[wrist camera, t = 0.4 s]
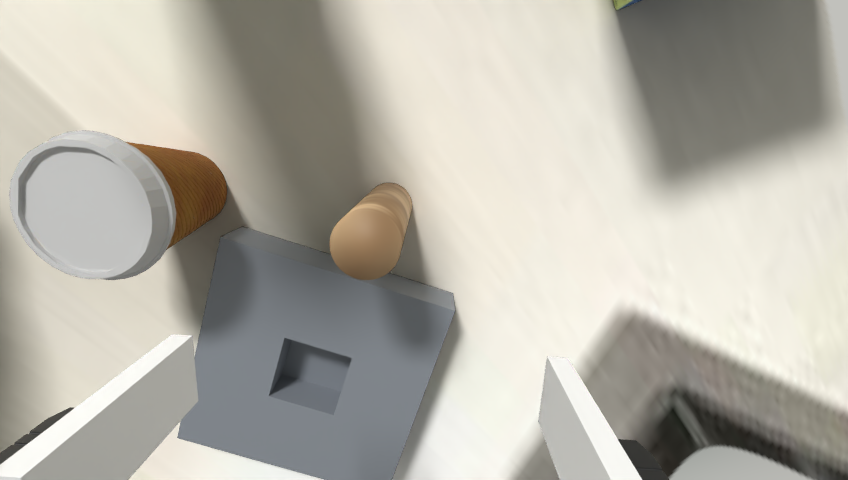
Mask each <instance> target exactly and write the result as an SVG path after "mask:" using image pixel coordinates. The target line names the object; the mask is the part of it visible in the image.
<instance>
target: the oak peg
mask: <svg viewBox="0 0 848 480" xmlns="http://www.w3.org/2000/svg"><path fill="white" fill-rule="evenodd" d="M411 210H412V201H411V197H410V195H409V194H408V192H407V191H406V190H405V189H404V188H403V187H402V186H400V185H398V184H395V183H383V184H380V185H378V186H376V187H375V188H374V189H373V190H372V191H371V192H370V193H368V194H367V195H366V196H365V197H364V198H363V199H362V200H361V201H360V202H359V203H358V204H357V205H356V206H354V207H353V208H352V209H351V210H350V211H349V212H348V213H347V214H346V215H345V216H344V217H343V218H342V219H341V220H340V221H339V222H338V223H337V224H336V225H335V227H334V228H333V230H332V233H331V236H330V244H329V245H330V252H331V256H332V258H333V260H334V262H335V263H336V265H337V266H338V267H339V269H340V270H342V271H343V272H344V273H345V274H347V275H349V276H351V277H353V278H356V279H360V280H374V279H377V278H380V277H382V276H384V275H386V274H387V273H389V272H390V271H391V270H392V269H393V268H394V266H395V265H396V263H397V262H398V260H399V257H400V253H401V249H402V245H403V242H404V238H405V234H406V230H407V226H408V222H409V218H410V214H411Z"/></svg>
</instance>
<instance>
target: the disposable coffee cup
mask: <svg viewBox="0 0 848 480" xmlns="http://www.w3.org/2000/svg"><path fill="white" fill-rule="evenodd" d="M9 197H10V208H11V212H12V215H13V219H14V222H15V224H16V226H17V228H18V230H19V232H20V234H21V235H22V237H23V238H24V240H25V242H26V243H27V245H28V246H29V247H30V248H31V249H32V250H33V251H34V252H35V253H36V254H37V255H38V256H39V257H40V258H41V259H43V260H44V261H45V262H47V263H48V264H49V265H51V266H52V267H54V268H56V269H58V270H60V271H62V272H64V273H66V274H69V275H73V276H76V277H80V278H86V279H106V280H117V279H125V278H129V277H133V276H136V275H138V274H140V273H142V272H144V271H146V270H147V269H149V268H150V267H151V266H153V265H154V264H155V263H156V262H157V261H158V260H159V259H160V258H161V257H162V255H163V254H164V252H165V251H166V250H167V249H168V248H170V247H171V246H173V245H174V244H176V243H177V242H179V241H180V240H181V239H183V238H184V237H186V236H187V235H189V234H190V233H192V232H193V231H195V230H196V229H198V228H199V227H200V226H202V225H203V224H205V223H206V222H208V221H209V220H211V219H213V218H214V217H215V216H216V215H218V214H219V213H220V211H221V210H222V209H223V207H224V204H225V201H226V197H227V186H226V182H225V179H224V177H223V174H222V173H221V171H220V169H219V168H218V167H217V166H216V165H215V164H214V162H212V161H211V160H210V159H208V158H207V157H205V156H203V155H201V154H199V153H195V152H189V151H182V150H176V149H170V148H162V147H156V146H150V145H144V144H135V143H129V142H124V141H123V140H121V139H119V138H117V137H114V136H111V135H108V134H105V133H100V132H95V131H86V130H82V131H72V132H66V133H63V134H60V135H57V136H54V137H52V138H50V139H49V140H48V141H46V142H45V143H42V144H41V145H39V146H37V147H36V148H34V149H32V150H31V151H29V152H28V153H27V154H26V155H25V156H24V157H23V158H22V159H21V160H20V162H19V164H18V166H17V168H16V170H15V172H14V174H13V177H12V179H11V184H10V192H9Z"/></svg>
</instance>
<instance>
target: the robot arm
mask: <svg viewBox="0 0 848 480" xmlns="http://www.w3.org/2000/svg"><path fill="white" fill-rule="evenodd" d="M197 402H198V392H197V381H196V370H195V358H194V347H193V336H190V335H173V334H172V335H171V336H169V337H168V338H167V339H165V340H164V341H163V342H161V343H160V344H159V345H157V346H156V347H155V348H153V349H152V350H151V351H149V352H148V353H147V354H145V355H144V356H143V357H142V358H140V359H139V360H138V361H136V362H135V363H134V364H132V365H131V366H130V367H128V368H127V369H126V370H124V371H123V372H122V373H120V374H119V375H118V376H116V377H115V378H114V379H113V380H111V381H110V382H109V383H107V384H106V385H105V386H103V387H102V388H101V389H99V390H98V391H97V392H95V393H94V394H93V395H91V396H90V397H89V398H87V399H86V400H85V401H84V402H82V403H81V404H80V405H78V406H77V407H76V408H68V409H66V410H64V411H62V412H60V413H58V414H56V415H54V416H52V417H50V418H48V419H46V420H45V421H44V422H42V423H41V424H40V425H38V426H37V427H36V428H34V429H33V430H31V431H30V433H29V434H26V435H25V436H23V437H22V438H20V439H19V440H18V441H16V442H15V444H14V445H11V446H10V447H8V448H7V449H5V450H4V451H3V452H1V453H0V480H128V479H129V478H130V477H131V476H132V475H133V474H134V473H135V472H136V470H137V469H138V468H139V467H140V466H141V465H142V464H143V463H144V461H145V460H146V459H147V458H148V457H149V456H150V455H151V454H152V452H153V451H154V450H155V449H156V448H157V447H158V446H159V444H160V443H161V442H162V441H163V440H164V439H165V438H166V437H167V435H168V434H169V433H170V432H171V431H172V430H173V429H174V428H175V426H176V425H177V424H178V423H179V422H180V421H181V420H182V419H183V417H184V416H185V415H186V414H187V413H188V412H189V411H190V410H191V408H192V407H193V406H194V405H195V404H196V403H197ZM538 422H539V425H540V427H541V430H542V433H543V435H544V438H545V441H546V444H547V446H548V449H549V452H550V454H551V457H552V460H553V463H554V465H555V468H556V471H557V473H558V476H559V479H560V480H669V478H668V477H667V476H666V474H665V473H664V472H662V468H661V467H660V465H659V464H658V462H657V461H656V460H655V458H654V457H653V455H652V454H651V453H650V452H649V451H648V450H646V449H645V448H644V447H643V446H642V445H641V444H639V443H638V442H637V441H636V440H621V439H617V437H616V436H615V434H614V432H613V431H612V429H611V428H610V426H609V424H608V423H607V421H606V419H605V418H604V416H603V414H602V413H601V411H600V409H599V408H598V406H597V405H596V403H595V401H594V400H593V398H592V396H591V395H590V393H589V391H588V390H587V388H586V386H585V385H584V383H583V381H582V380H581V378H580V377H579V375H578V373H577V372H576V370H575V368H574V367H573V365H572V363H571V362H570V360H569V358H565V357H548V356H547V361H546V369H545V376H544V383H543V391H542V398H541V405H540V412H539V420H538Z"/></svg>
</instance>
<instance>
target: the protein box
mask: <svg viewBox="0 0 848 480" xmlns="http://www.w3.org/2000/svg"><path fill="white" fill-rule="evenodd" d="M613 1H614V5H615V9H616V10H620V9H622V8H624V7H627V6H629V5H632V4H634V3H637V2H639V1H641V0H613Z"/></svg>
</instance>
